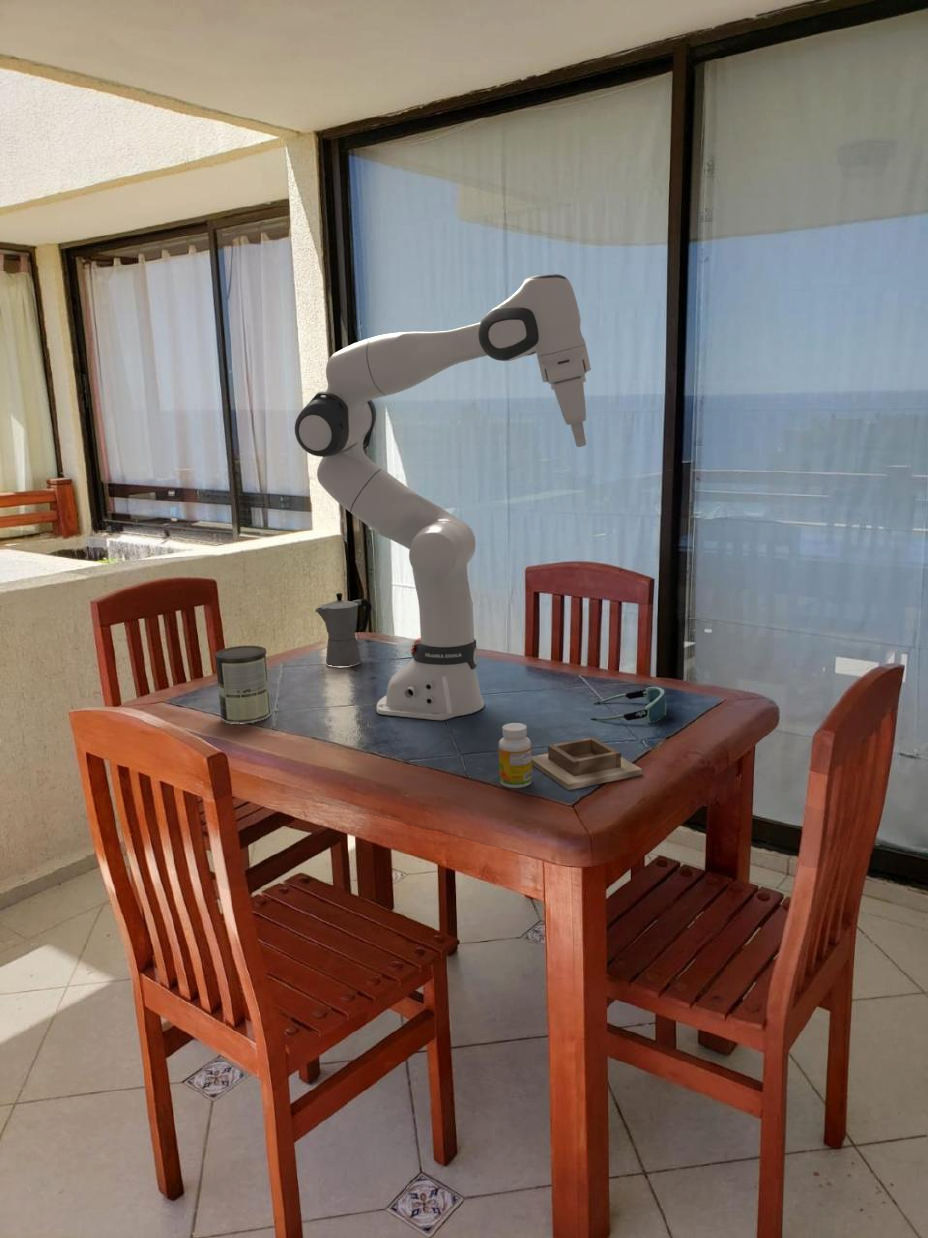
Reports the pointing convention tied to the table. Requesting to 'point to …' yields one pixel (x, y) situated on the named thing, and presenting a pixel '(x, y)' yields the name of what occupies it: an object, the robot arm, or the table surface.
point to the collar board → (584, 763)
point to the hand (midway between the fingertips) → (581, 442)
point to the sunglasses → (654, 708)
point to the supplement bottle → (515, 756)
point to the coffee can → (243, 684)
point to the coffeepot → (343, 629)
